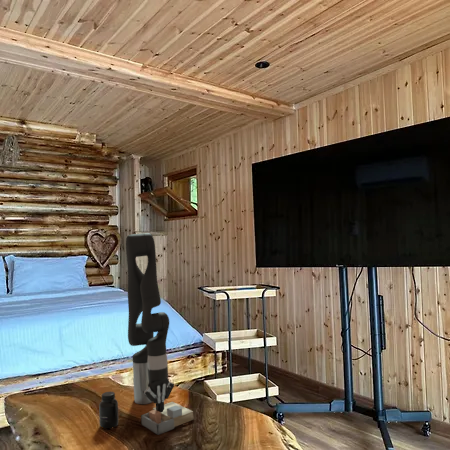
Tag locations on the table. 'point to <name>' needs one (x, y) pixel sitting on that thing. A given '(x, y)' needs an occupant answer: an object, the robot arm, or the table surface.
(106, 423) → the supplement bottle
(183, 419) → the board
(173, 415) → the blue gray block
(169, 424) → the tray
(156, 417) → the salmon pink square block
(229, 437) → the table surface
